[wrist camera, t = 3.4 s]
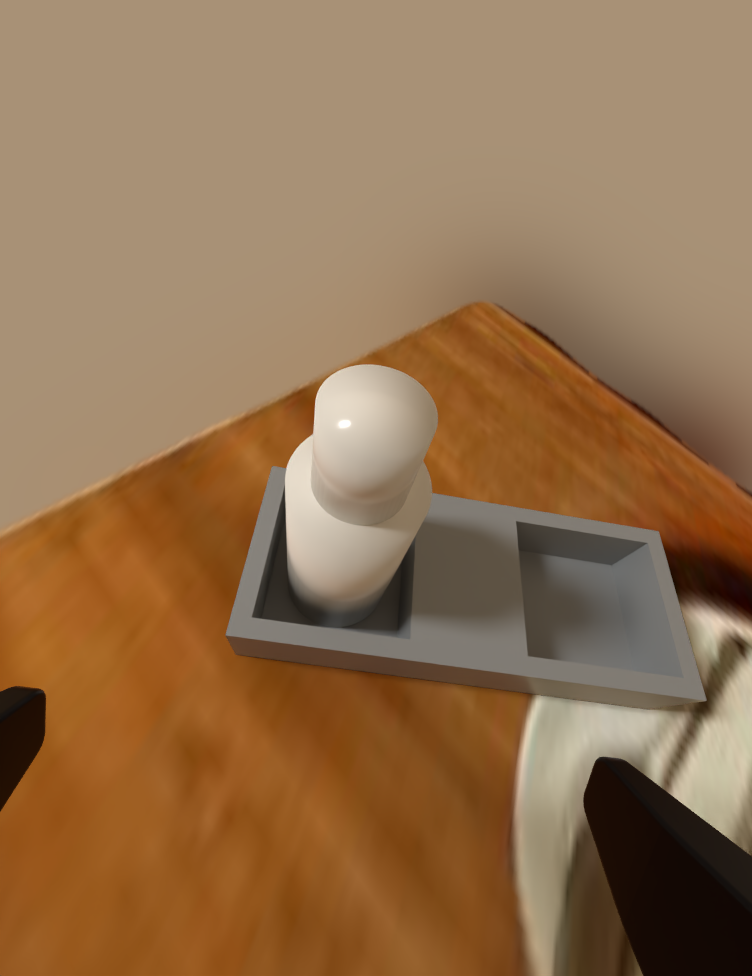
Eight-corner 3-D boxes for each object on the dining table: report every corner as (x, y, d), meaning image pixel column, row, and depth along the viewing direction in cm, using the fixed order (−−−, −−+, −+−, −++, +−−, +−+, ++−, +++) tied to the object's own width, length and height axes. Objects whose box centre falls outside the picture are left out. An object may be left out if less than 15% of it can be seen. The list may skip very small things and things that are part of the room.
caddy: (648, 709, 21) (706, 700, 18) (235, 654, 20) (225, 635, 17) (615, 558, 26) (658, 531, 23) (274, 503, 24) (272, 466, 21)
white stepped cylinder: (403, 592, 22) (504, 437, 11) (321, 648, 20) (353, 522, 9) (350, 519, 24) (395, 326, 13) (269, 564, 22) (247, 378, 11)
